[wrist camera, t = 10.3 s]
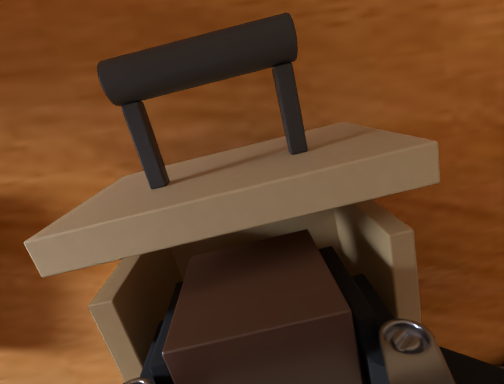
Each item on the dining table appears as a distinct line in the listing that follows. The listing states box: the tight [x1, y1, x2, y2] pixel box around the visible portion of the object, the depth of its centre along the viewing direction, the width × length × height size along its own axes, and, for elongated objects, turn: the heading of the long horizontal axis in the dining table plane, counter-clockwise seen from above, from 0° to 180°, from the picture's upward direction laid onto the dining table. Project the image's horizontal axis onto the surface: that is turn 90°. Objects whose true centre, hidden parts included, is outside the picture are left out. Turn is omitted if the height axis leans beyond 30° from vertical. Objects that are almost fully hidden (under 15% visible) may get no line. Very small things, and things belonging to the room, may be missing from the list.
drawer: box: [24, 13, 440, 382], centre depth 13 cm, size 18×11×7 cm, turn 14°
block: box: [162, 229, 363, 384], centre depth 10 cm, size 5×5×5 cm
